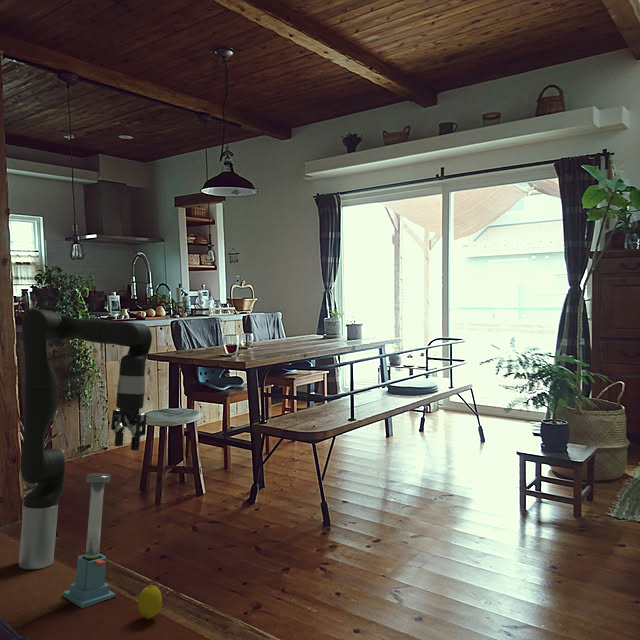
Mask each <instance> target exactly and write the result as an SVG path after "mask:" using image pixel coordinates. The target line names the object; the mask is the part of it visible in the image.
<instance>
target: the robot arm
mask: <svg viewBox="0 0 640 640" xmlns="http://www.w3.org/2000/svg"><path fill="white" fill-rule="evenodd" d="M21 335H22V343H23V345H22V346H23V353H24V393H23V394H24V395H23V396H24V397H23V398H24V399H23V400H24V401H23V402H24V403H23V404H24V420H23V421H24V425H23V436H22V437H23V438H22V445H21V455H20V456H21V457H20V474H21V477H22V479H23V481H24V482H25V483H27V484H29V485H30V484H31V485H34V484H37V485H35V487H34V488H33V489H32V490H31V491H30V492H28V493H27V494H26V495H25V496H24V500H23V511H22V519H21V520H22V521H21V531H20V532H21V533H20V534H21V535H20V545H19V555H18V567H19V568H21V569H23V570H38V569H44V568H47V567H50V566H51V565H52V564H54V560H55V558H54V557H55V556H54V555H55V549H56V537H57V536H56V534H57V525H58V524H57V523H58V510H59V500H60V497H61V495H62V494H63V493H62V492H63V486H64V485H63V484H64V479H65V474H66V473H65V470H66V460H65V456H64V454H63V452H62V451H61V450H59V449H58V448H48V449H47V448H46V449H44V448H45V447H44V445H45V436H46V432H47V429H48V427H49V425H50V423H51V422H52V420H53V418H54V416H55V414H56V412H57V409H58V407H59V399H60V397H59V395H60V392H59V391H60V390H59V388H60V386H59V381H58V378H57V376H56V375H57V374H56V373H55V371H54V369H53V367H52V364H51V363H50V361H49V356H48V350H47V341H48V342H49V341H56V340H68V339H73V340H81V341H85V342H89V343H98V344H103V345H115V346H116V345H117V346H122V347H127V348H128V352H127V353H126V354H125V355H123V356H122V357H121V359H120V362H119V363H120V364H119V376H118V381H117V389H116V401H115V407H116V408H117V409H113V410H112V417H111V426H110V430H112V431H113V433H114V447H122V446H123V445H124V431H125V430H126V429H128V431H130V434H131V443H130V451H140V450H139V449H140V441H141V437H143V436H145V435H146V433H147V431H146V430H147V428H146V427H147V414H146V413H140V409H143V408H144V401H145V388H146V387H145V386H146V381H145V374H146V373H145V372H146V363H147V362H146V361H147V358H148V356H149V353H150V351H151V350H150V349H151V346H152V341H153V334H152V330H151V329H150V327H149V326H148V325H146V324H145V323H137V322H131V321H129V322H128V321H115V320H110V319H96V318H83V319H82V318H77V317H76V318H74V317H70V316H67V315H64V314H62V313H58V312H55V311H52V310H47V309H39V308H32V309H30V310H28V311H27V312H26V313H25V315H24V316H23V319H22V323H21Z"/></svg>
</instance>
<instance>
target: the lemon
mask: <svg viewBox="0 0 640 640" xmlns="http://www.w3.org/2000/svg"><path fill="white" fill-rule="evenodd" d="M161 592H162V591H161V589H160V588H158V587H157V586H155V585H153V584H149V586H146V587H145V588H143V589H142V590H141V592H140V594H139V597H138V600H137V601H138V602H137V609H138V612H139V614H140V615H141V616H142V617H144V618H146V619H147V620H150V619H152V617H154V616H157V614H159V612H160V611H161V608H162V603H163V597H162V593H161Z"/></svg>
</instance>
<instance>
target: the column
mask: <svg viewBox="0 0 640 640" xmlns="http://www.w3.org/2000/svg"><path fill="white" fill-rule="evenodd" d="M85 476H86V477H85V483H87V484H89V485H91V486H90V496H89V497H90V498H89V509H88V510H89V512H88V522H87V534H86V536H87V537H86V545H85V547H86V549H85V554H84V555H85V560H87V561H92V560H96V559H99V555H100V554H101V553H100V545H101V534H102V533H101V531H102V519H103V506H104V493H105V484H109V483H110V482H111V474H110V473H107V472H93V473H88V474H86V475H85Z"/></svg>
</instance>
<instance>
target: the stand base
mask: <svg viewBox="0 0 640 640" xmlns="http://www.w3.org/2000/svg"><path fill="white" fill-rule="evenodd" d="M106 570H107V556H105V555H104V554H101V553H100V555H99V559H96V560H92V561H87V560H85V554H84V555H79V556H77V563H76V574H75V575H76V576H75V583H71V584H70V586H69V589H67V590H64V591H62V597H64V598H65V599H66V600H68V601H70V602H71V603H73V604H75V605H76V606H78V607H80V608H81V609H84V608H88V607H91V606H93V604H94V605H97V604H100V603H102V602H101V601H103V602H105V601H104V600H107V599H110V598H112V597H114V596H115V597H116V595H117V594H116V593H115V592H113V591H111V590H110V588H111V587H110V584H109V583H107V582H105V581H106ZM110 600H111V599H110ZM107 601H108V600H107ZM99 602H100V603H99ZM96 603H97V604H96Z"/></svg>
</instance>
